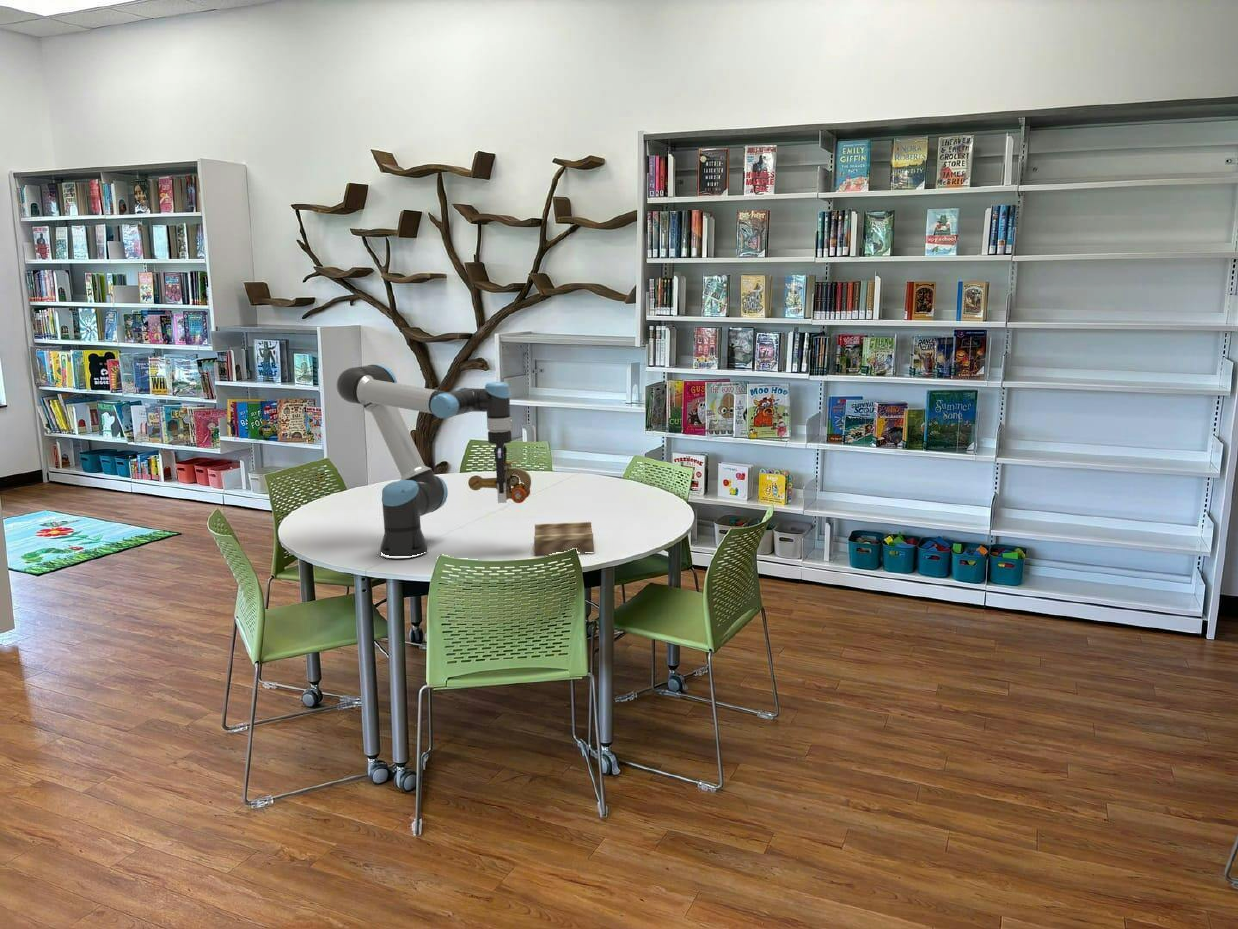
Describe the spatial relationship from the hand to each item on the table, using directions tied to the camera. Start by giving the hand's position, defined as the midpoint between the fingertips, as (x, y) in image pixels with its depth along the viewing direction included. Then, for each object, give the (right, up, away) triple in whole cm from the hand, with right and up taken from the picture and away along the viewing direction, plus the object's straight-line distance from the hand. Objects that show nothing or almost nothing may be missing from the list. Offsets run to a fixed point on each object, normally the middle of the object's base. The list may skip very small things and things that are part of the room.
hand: (502, 499), depth 306 cm
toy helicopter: (0, 0, +1) cm, 1 cm away
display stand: (+20, -16, +5) cm, 26 cm away
